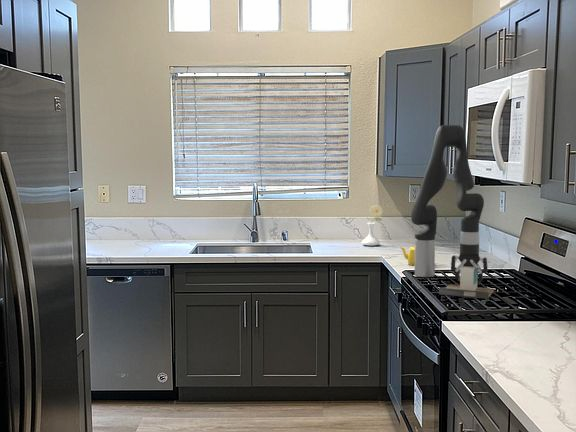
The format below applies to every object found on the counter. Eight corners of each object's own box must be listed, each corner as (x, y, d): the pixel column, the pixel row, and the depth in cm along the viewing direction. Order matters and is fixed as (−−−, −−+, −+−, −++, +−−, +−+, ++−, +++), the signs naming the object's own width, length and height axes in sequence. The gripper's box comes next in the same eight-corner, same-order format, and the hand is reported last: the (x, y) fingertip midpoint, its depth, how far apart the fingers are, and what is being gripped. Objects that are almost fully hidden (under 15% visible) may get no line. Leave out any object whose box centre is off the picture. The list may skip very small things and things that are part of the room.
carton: (460, 292, 252) (460, 268, 250) (464, 287, 261) (465, 263, 259) (473, 293, 249) (473, 269, 248) (477, 288, 258) (478, 264, 257)
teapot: (417, 267, 311) (418, 248, 310) (397, 263, 322) (398, 245, 321) (438, 264, 319) (438, 245, 318) (417, 260, 330) (417, 242, 329)
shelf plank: (448, 288, 265) (448, 279, 265) (495, 292, 257) (495, 282, 256) (438, 297, 249) (439, 288, 249) (488, 302, 241) (488, 292, 240)
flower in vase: (360, 246, 377) (360, 205, 374) (363, 243, 388) (363, 203, 385) (381, 247, 373) (381, 205, 370) (384, 244, 384) (384, 204, 381)
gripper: (489, 242, 253) (488, 281, 255) (453, 240, 259) (453, 278, 261) (486, 244, 246) (485, 284, 248) (449, 242, 253) (449, 281, 254)
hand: (468, 281), depth 255 cm, fingers open, 8 cm apart
